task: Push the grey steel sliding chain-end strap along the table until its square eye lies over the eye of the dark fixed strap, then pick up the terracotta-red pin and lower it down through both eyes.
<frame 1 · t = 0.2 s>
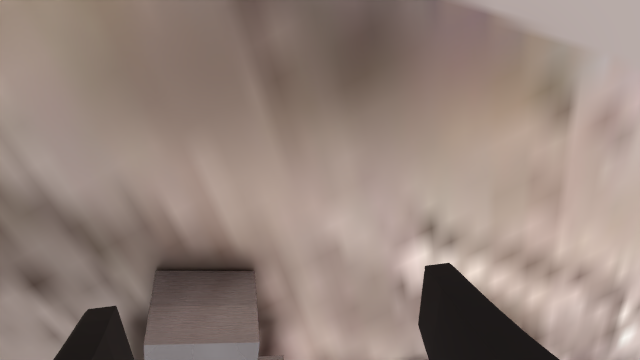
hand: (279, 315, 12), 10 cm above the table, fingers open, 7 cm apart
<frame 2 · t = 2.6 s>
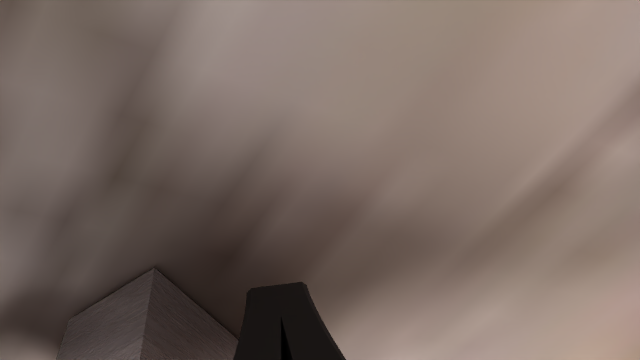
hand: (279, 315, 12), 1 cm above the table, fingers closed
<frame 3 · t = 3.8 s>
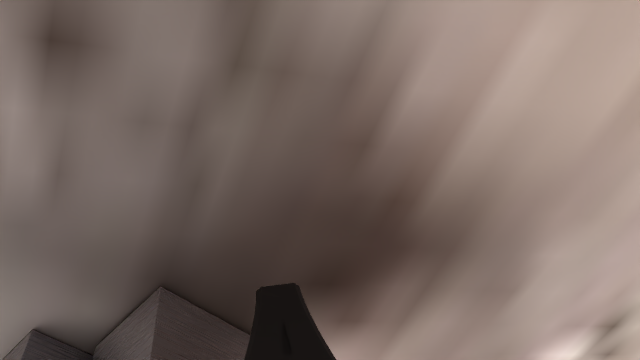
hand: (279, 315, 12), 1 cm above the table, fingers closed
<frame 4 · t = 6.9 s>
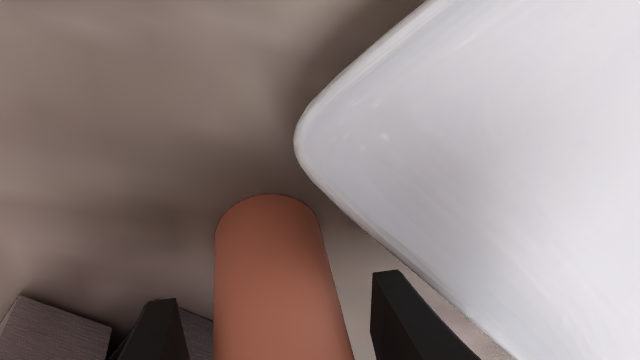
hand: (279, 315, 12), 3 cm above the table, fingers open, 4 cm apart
link pin: (268, 237, 15), on the table
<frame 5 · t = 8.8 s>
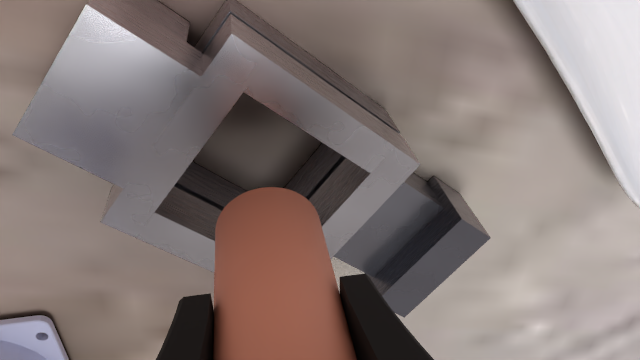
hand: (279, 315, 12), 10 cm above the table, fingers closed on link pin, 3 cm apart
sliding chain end: (220, 137, 18), point 2 cm above the table, slide at 0.0 cm
link pin: (268, 231, 15), point 7 cm above the table, touching gripper
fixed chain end: (256, 132, 20), on the table
when the fingers open (5 cm above the table, at t = 10.1 s): link pin drops 2 cm, resting in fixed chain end.
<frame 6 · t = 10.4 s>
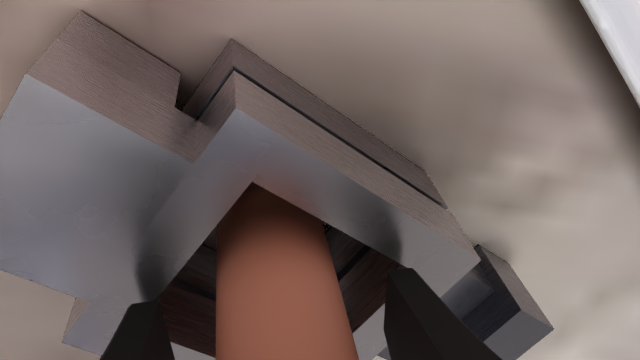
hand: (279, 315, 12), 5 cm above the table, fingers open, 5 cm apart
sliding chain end: (220, 221, 14), point 2 cm above the table, slide at 0.0 cm
link pin: (265, 197, 16), resting in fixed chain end
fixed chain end: (264, 200, 16), on the table
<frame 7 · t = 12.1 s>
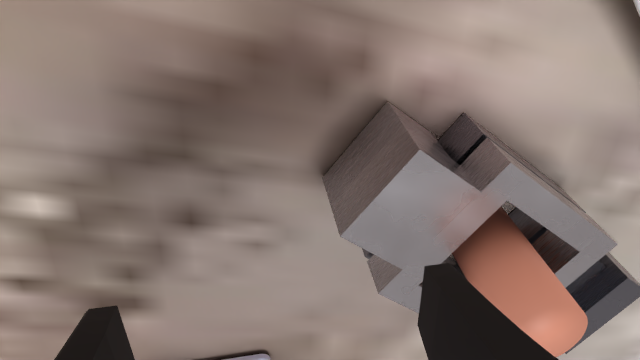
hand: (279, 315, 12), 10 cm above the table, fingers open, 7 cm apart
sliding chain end: (455, 222, 23), point 2 cm above the table, slide at 0.0 cm
link pin: (461, 206, 25), resting in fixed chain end
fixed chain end: (460, 208, 25), on the table
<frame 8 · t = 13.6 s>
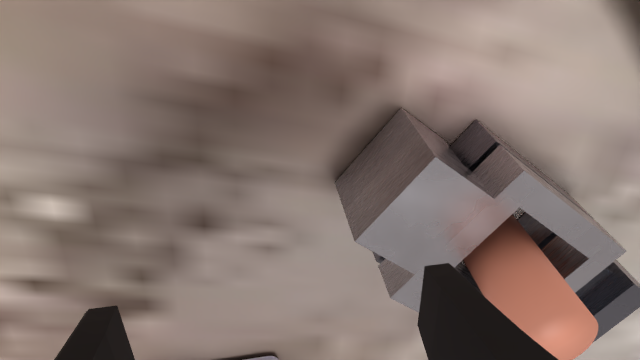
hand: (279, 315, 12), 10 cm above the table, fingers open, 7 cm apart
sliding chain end: (466, 227, 23), point 2 cm above the table, slide at 0.0 cm
link pin: (470, 211, 25), resting in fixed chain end
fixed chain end: (469, 214, 25), on the table
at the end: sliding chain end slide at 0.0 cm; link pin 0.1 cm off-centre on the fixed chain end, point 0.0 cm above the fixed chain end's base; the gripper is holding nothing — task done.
